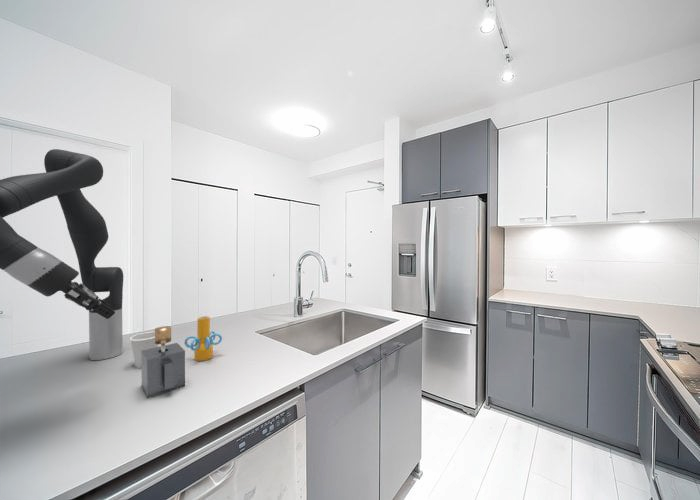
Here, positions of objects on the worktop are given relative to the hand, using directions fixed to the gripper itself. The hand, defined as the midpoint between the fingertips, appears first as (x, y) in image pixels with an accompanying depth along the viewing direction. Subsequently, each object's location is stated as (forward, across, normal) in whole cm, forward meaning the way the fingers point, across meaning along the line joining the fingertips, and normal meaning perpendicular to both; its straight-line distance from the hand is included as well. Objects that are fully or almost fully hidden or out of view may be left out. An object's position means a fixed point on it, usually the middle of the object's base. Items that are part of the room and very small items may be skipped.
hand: (110, 312), depth 70 cm
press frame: (+25, -1, +9) cm, 27 cm away
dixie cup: (+25, +22, +9) cm, 34 cm away
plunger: (+24, 0, +7) cm, 25 cm away
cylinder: (+36, +13, -2) cm, 38 cm away
